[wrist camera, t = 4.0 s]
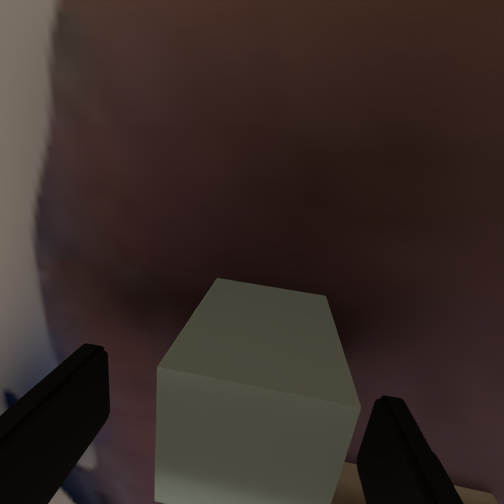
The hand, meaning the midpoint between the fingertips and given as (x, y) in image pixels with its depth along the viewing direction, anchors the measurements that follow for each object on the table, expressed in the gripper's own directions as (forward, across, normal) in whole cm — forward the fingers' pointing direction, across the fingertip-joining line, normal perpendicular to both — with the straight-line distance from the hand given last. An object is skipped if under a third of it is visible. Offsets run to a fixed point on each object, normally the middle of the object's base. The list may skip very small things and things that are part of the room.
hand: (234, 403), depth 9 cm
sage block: (+4, -1, 0) cm, 4 cm away
